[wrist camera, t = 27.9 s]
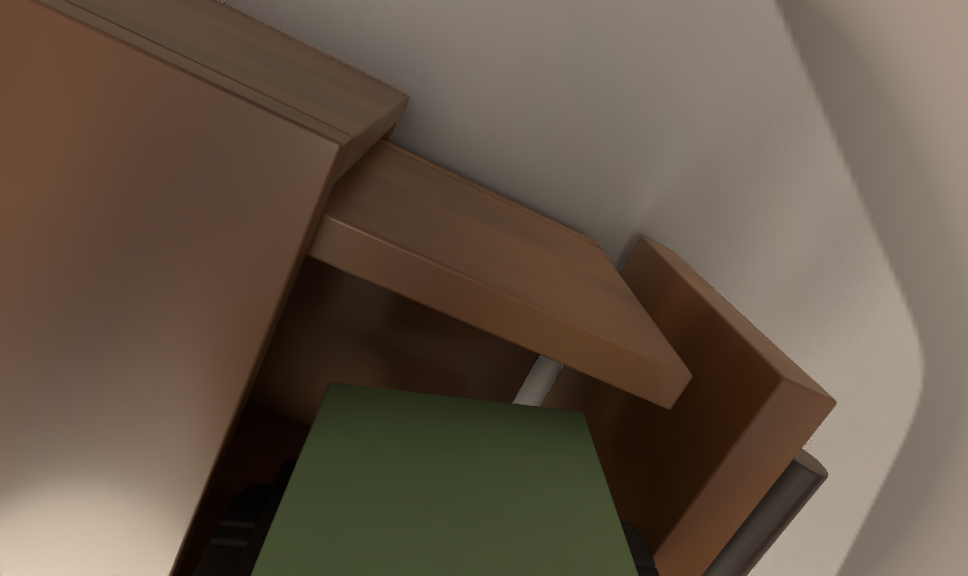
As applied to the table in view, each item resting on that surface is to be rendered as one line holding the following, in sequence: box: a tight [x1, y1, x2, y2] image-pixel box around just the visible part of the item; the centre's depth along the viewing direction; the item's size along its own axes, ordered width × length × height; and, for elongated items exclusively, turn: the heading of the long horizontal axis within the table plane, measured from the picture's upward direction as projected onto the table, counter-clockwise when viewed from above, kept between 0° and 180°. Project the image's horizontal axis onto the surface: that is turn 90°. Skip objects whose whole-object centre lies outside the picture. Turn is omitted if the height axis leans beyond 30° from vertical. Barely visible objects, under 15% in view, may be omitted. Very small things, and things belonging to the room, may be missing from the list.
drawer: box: [177, 139, 837, 576], centre depth 16 cm, size 18×11×9 cm, turn 64°
